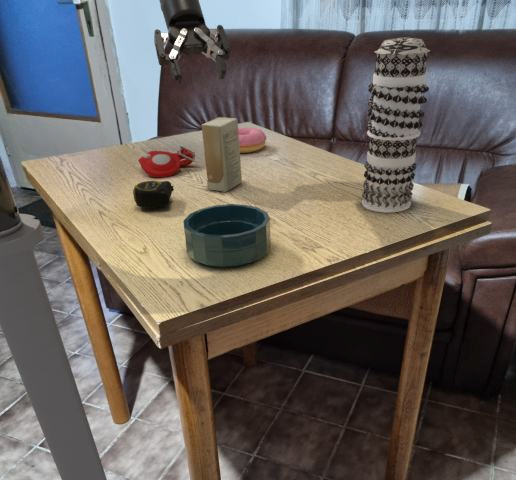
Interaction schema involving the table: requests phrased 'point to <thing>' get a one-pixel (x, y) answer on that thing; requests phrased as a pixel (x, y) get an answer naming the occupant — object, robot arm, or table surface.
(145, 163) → the tracker holder
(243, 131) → the doughnut
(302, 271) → the table surface
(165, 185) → the tape measure
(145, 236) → the table surface
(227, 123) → the cosmetic box
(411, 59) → the white patterned cylinder
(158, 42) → the robot arm
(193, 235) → the bowl
